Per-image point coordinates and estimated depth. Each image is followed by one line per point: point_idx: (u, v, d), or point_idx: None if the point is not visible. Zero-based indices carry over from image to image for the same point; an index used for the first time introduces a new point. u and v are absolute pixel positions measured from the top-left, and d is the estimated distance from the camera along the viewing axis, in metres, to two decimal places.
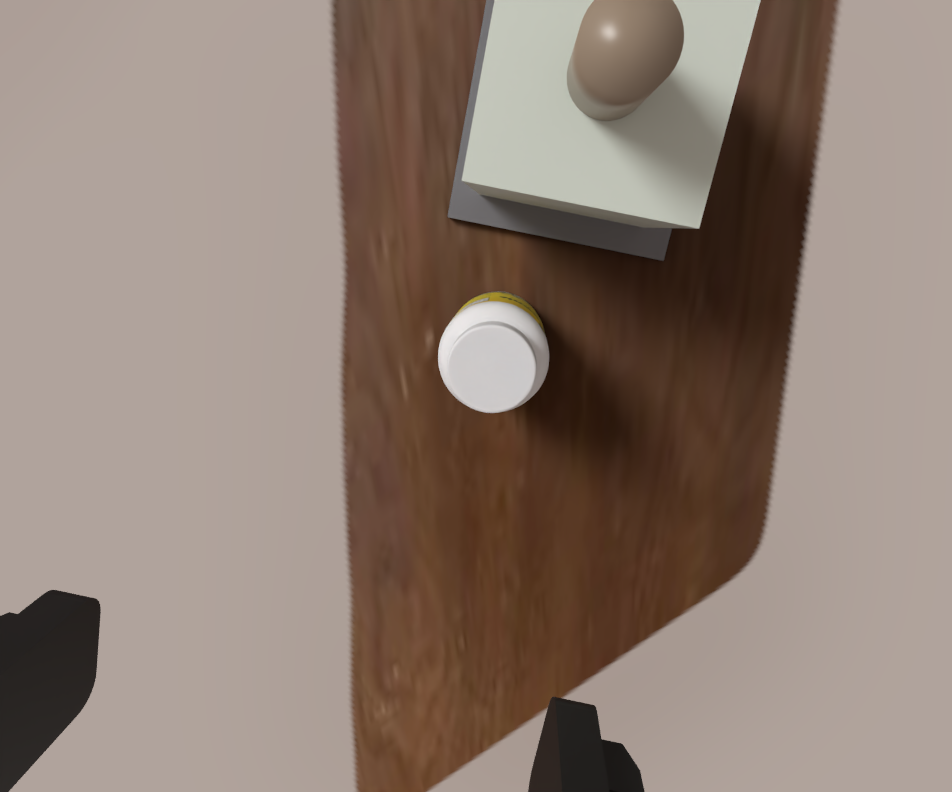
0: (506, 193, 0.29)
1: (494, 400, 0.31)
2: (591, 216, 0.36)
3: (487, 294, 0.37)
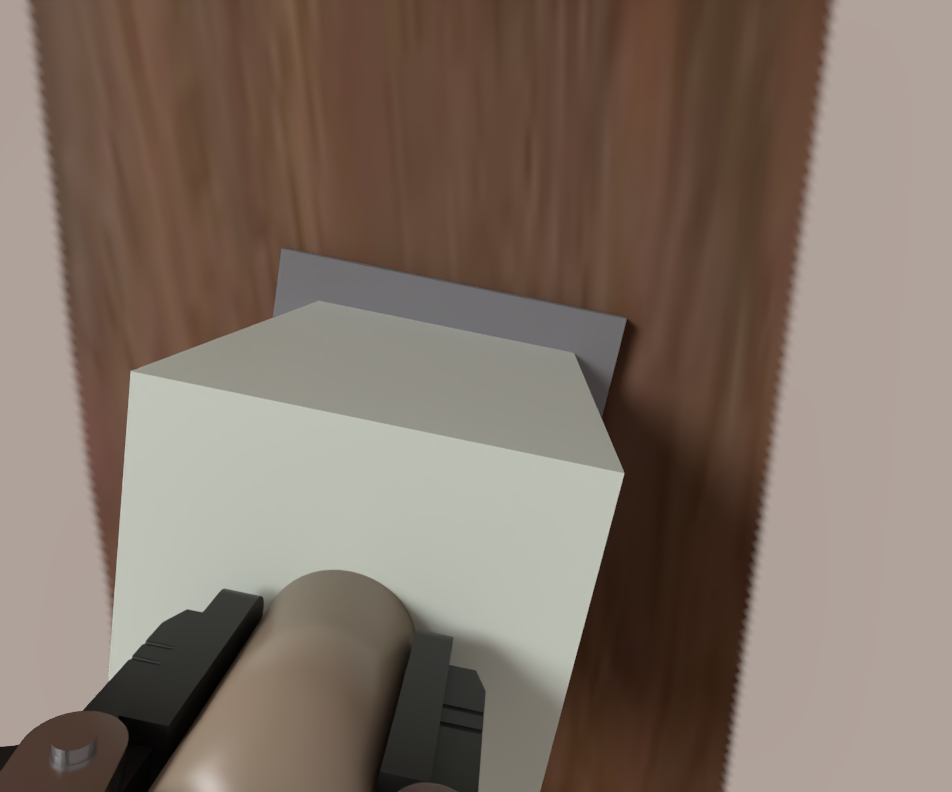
0: None
1: None
2: None
3: None
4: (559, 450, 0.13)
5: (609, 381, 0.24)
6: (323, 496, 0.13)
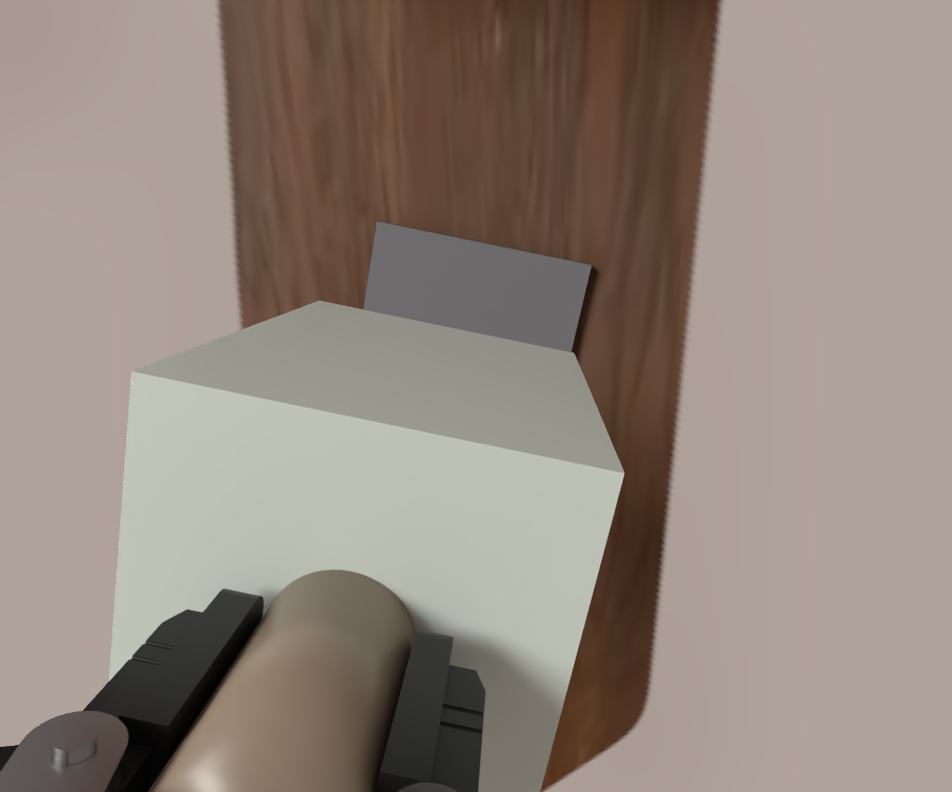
0: None
1: None
2: None
3: None
4: (559, 451, 0.13)
5: (581, 305, 0.39)
6: (323, 496, 0.13)
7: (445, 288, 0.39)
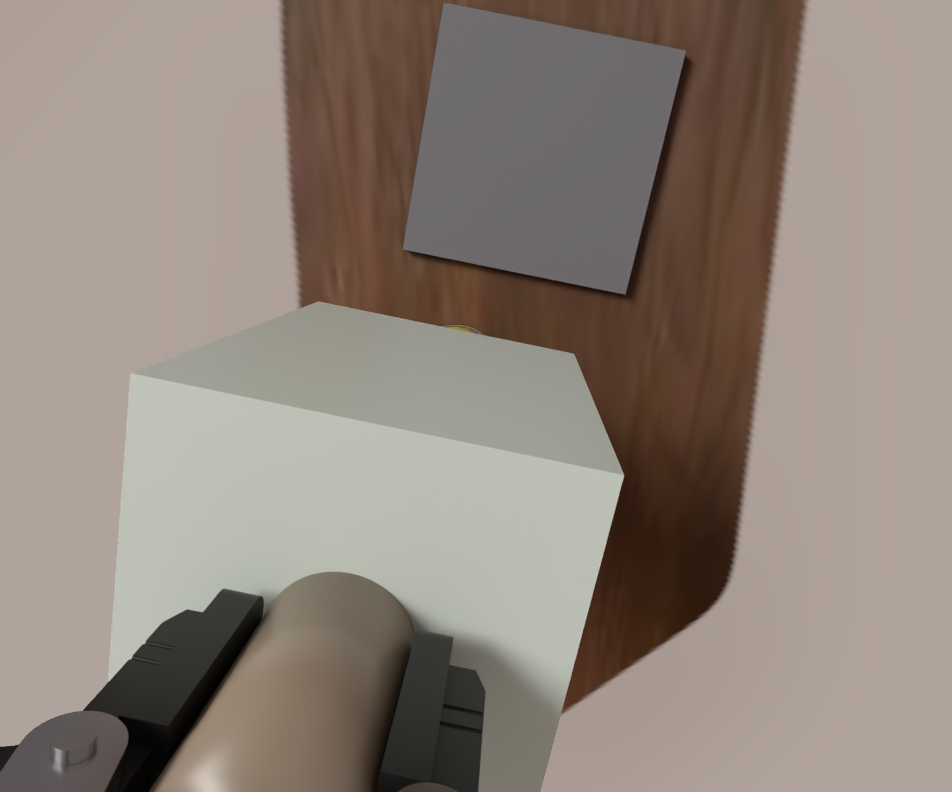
0: None
1: None
2: None
3: None
4: (558, 452, 0.13)
5: (673, 98, 0.34)
6: (322, 498, 0.13)
7: (519, 82, 0.35)
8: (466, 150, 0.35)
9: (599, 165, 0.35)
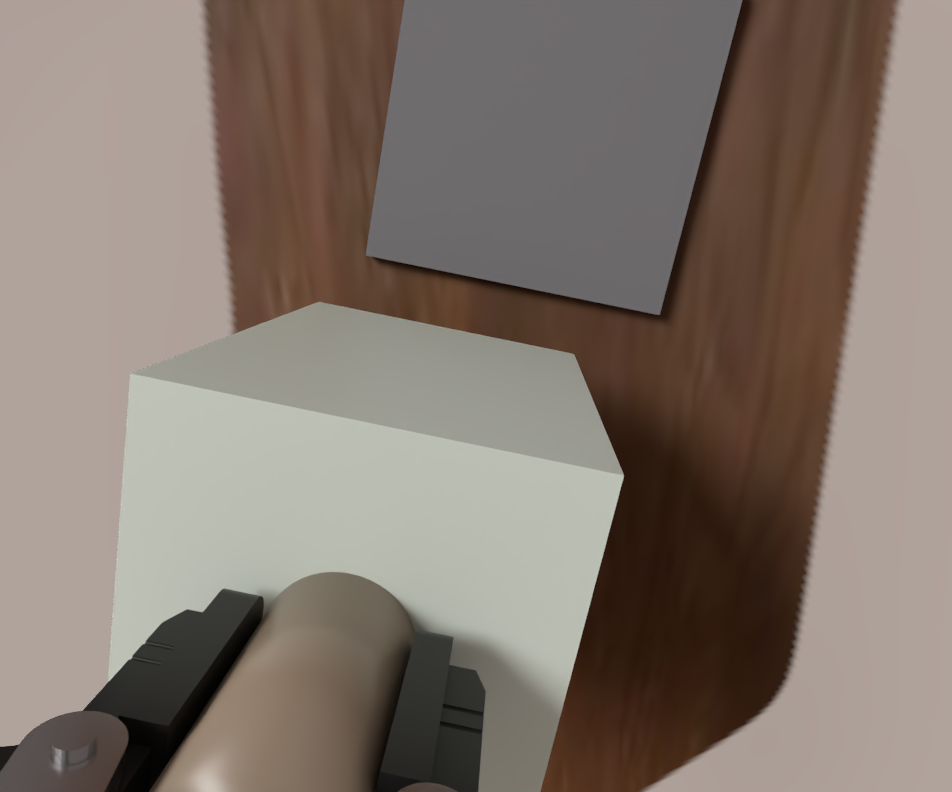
0: None
1: None
2: None
3: None
4: (558, 453, 0.13)
5: (727, 52, 0.25)
6: (322, 499, 0.13)
7: (519, 30, 0.26)
8: (448, 122, 0.26)
9: (627, 143, 0.26)
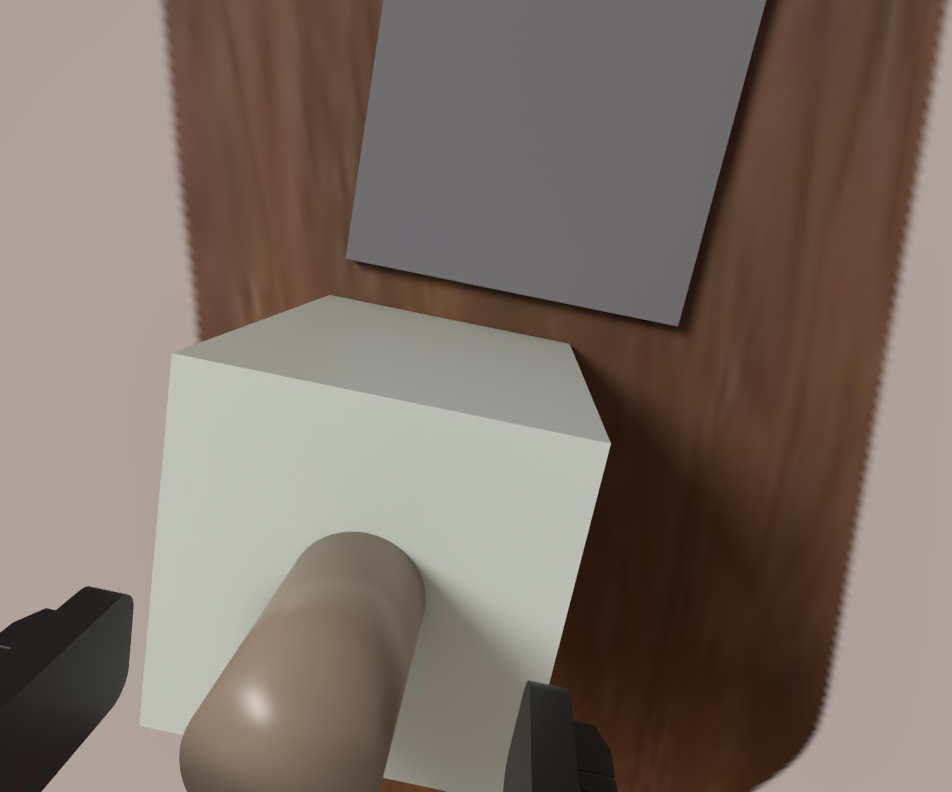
0: None
1: None
2: None
3: None
4: (552, 424, 0.14)
5: (757, 26, 0.22)
6: (342, 465, 0.14)
7: (519, 1, 0.22)
8: (438, 108, 0.23)
9: (642, 131, 0.23)
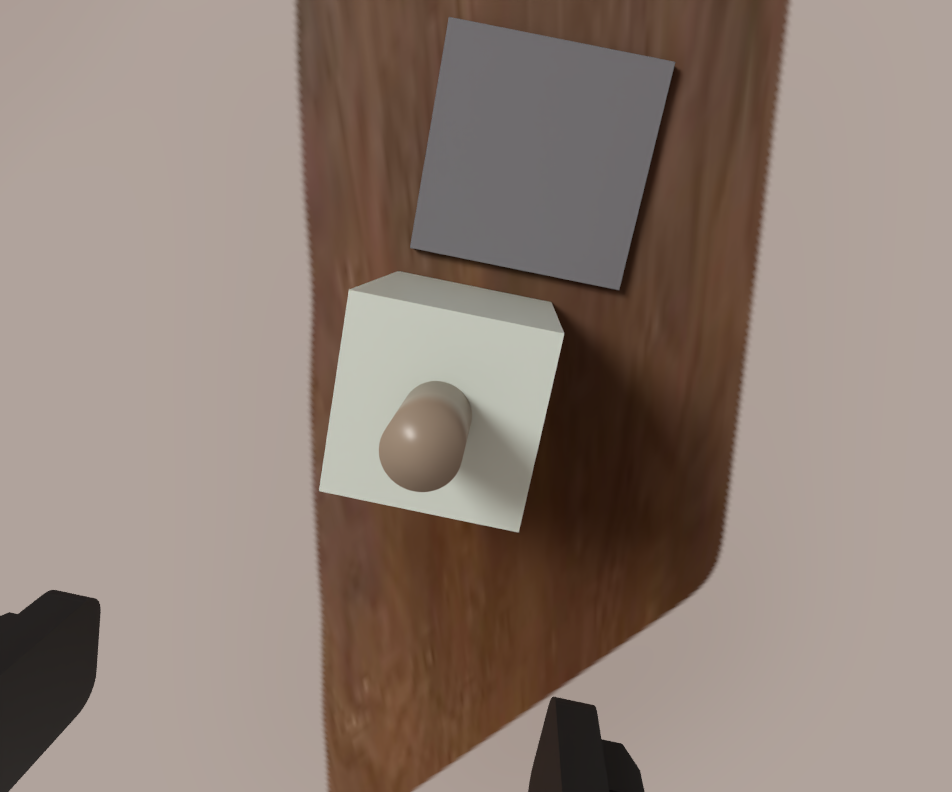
0: None
1: None
2: None
3: None
4: (536, 326, 0.29)
5: (663, 106, 0.37)
6: (431, 346, 0.29)
7: (519, 91, 0.37)
8: (469, 154, 0.38)
9: (594, 168, 0.38)
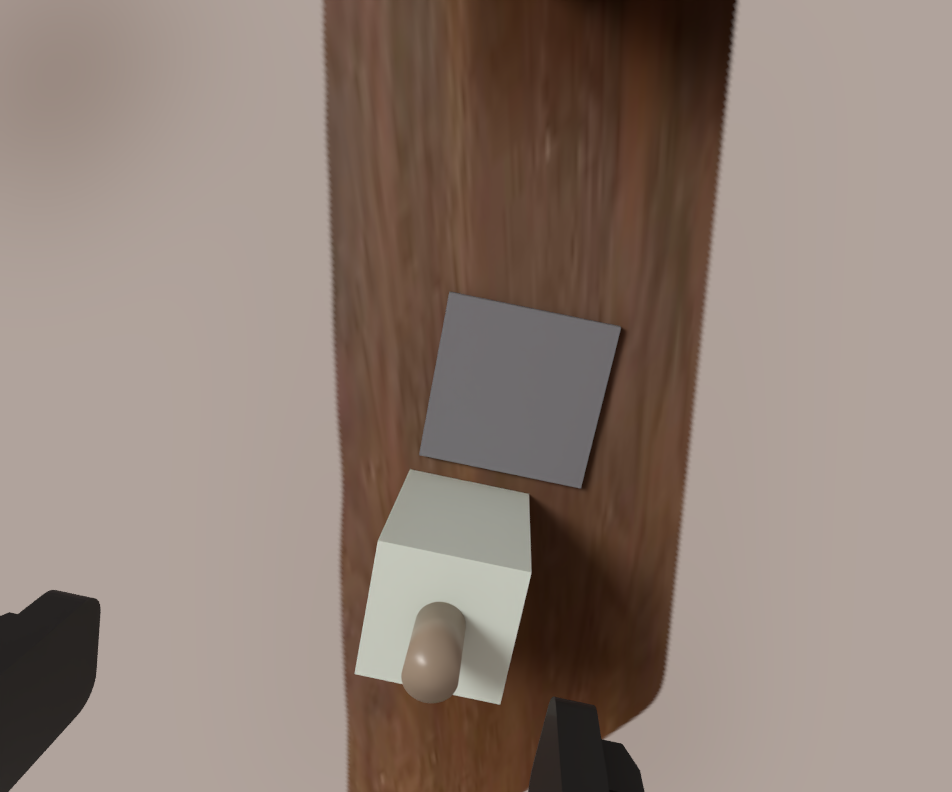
0: None
1: None
2: None
3: None
4: (511, 564, 0.40)
5: (612, 358, 0.48)
6: (436, 578, 0.40)
7: (503, 345, 0.48)
8: (465, 389, 0.49)
9: (561, 401, 0.49)
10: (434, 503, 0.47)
